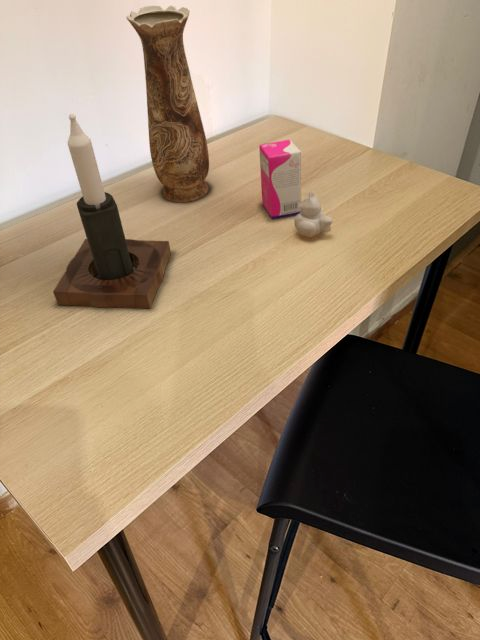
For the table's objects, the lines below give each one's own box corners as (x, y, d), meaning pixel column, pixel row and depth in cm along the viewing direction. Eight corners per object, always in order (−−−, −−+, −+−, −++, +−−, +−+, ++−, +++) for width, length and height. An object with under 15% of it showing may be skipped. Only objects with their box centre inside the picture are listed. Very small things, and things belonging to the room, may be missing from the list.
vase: (217, 180, 105) (200, 3, 84) (204, 207, 98) (181, 20, 77) (167, 177, 107) (138, 3, 86) (150, 203, 99) (113, 20, 78)
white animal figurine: (301, 222, 93) (301, 179, 87) (336, 230, 91) (340, 186, 85) (288, 238, 89) (288, 194, 84) (325, 246, 87) (328, 202, 82)
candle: (104, 291, 80) (53, 125, 63) (97, 273, 84) (47, 110, 66) (137, 282, 82) (96, 116, 64) (129, 265, 85) (88, 103, 68)
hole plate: (55, 305, 78) (50, 292, 77) (88, 250, 89) (84, 237, 87) (151, 309, 77) (147, 296, 75) (172, 253, 87) (170, 240, 86)
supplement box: (290, 199, 99) (291, 138, 91) (301, 214, 95) (302, 152, 87) (261, 204, 98) (258, 143, 90) (270, 220, 94) (269, 157, 86)
